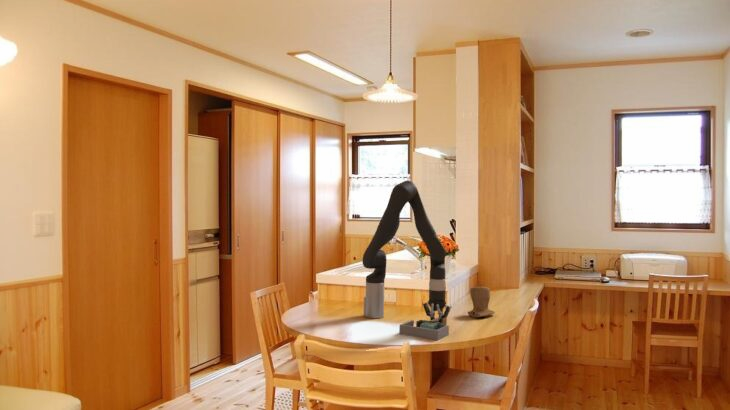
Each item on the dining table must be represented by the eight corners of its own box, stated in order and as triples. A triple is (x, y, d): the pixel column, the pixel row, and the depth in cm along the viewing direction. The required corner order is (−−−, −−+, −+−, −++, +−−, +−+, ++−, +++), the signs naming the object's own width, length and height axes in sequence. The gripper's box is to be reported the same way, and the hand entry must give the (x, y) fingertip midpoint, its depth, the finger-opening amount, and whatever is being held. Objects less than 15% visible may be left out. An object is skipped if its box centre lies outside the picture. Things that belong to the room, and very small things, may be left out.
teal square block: (420, 333, 253) (420, 324, 253) (425, 330, 258) (426, 321, 258) (432, 335, 250) (432, 326, 250) (438, 332, 255) (438, 323, 255)
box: (399, 333, 251) (399, 324, 251) (411, 328, 260) (411, 320, 260) (437, 340, 241) (437, 330, 241) (448, 334, 250) (448, 325, 250)
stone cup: (478, 311, 301) (479, 283, 300) (498, 315, 292) (498, 286, 292) (461, 315, 290) (461, 286, 290) (480, 319, 282) (481, 289, 281)
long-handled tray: (416, 330, 257) (416, 321, 257) (431, 323, 271) (431, 315, 271) (440, 334, 251) (440, 325, 251) (455, 326, 265) (455, 318, 265)
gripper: (419, 288, 261) (419, 325, 262) (448, 291, 254) (447, 330, 255) (426, 285, 268) (426, 322, 268) (454, 289, 261) (454, 326, 261)
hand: (436, 325), depth 261 cm, fingers closed on long-handled tray, 3 cm apart
